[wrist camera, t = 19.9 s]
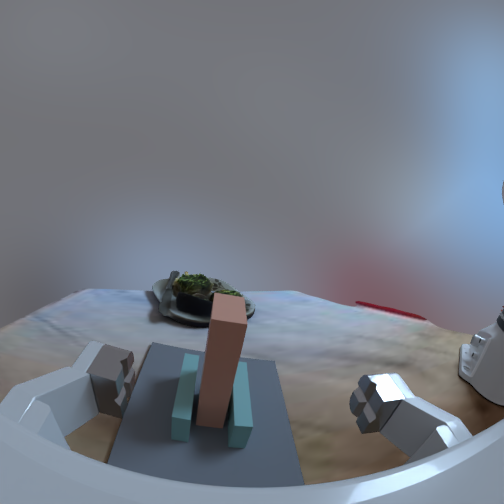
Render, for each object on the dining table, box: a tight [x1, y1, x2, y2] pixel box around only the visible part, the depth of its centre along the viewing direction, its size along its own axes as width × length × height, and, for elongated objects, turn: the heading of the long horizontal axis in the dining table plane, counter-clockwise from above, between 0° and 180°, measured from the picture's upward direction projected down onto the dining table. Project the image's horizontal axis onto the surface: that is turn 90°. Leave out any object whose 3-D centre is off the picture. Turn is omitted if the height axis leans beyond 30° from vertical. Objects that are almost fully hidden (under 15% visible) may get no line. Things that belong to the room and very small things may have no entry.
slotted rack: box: [171, 353, 253, 448], centre depth 23 cm, size 9×6×4 cm
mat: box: [107, 342, 304, 488], centre depth 23 cm, size 20×16×1 cm
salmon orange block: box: [196, 293, 247, 428], centre depth 22 cm, size 4×2×12 cm, turn 4°
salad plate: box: [152, 271, 255, 327], centre depth 48 cm, size 19×18×5 cm
